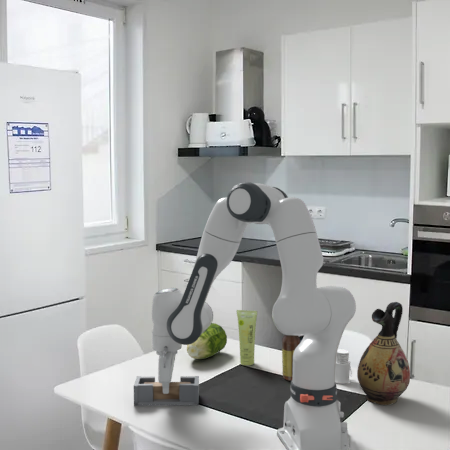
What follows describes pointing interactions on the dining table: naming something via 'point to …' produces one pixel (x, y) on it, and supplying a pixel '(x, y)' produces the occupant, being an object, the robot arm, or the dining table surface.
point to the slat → (172, 390)
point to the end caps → (186, 397)
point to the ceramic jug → (384, 360)
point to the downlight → (342, 367)
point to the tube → (247, 335)
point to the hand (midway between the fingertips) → (167, 386)
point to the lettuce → (208, 342)
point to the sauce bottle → (288, 355)
